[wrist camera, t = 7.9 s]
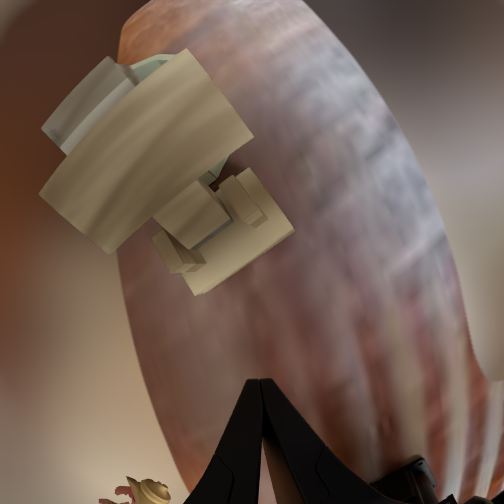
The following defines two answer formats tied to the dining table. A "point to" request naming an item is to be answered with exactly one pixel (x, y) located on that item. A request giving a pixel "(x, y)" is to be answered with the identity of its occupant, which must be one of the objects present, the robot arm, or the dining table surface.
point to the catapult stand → (229, 236)
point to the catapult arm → (143, 152)
